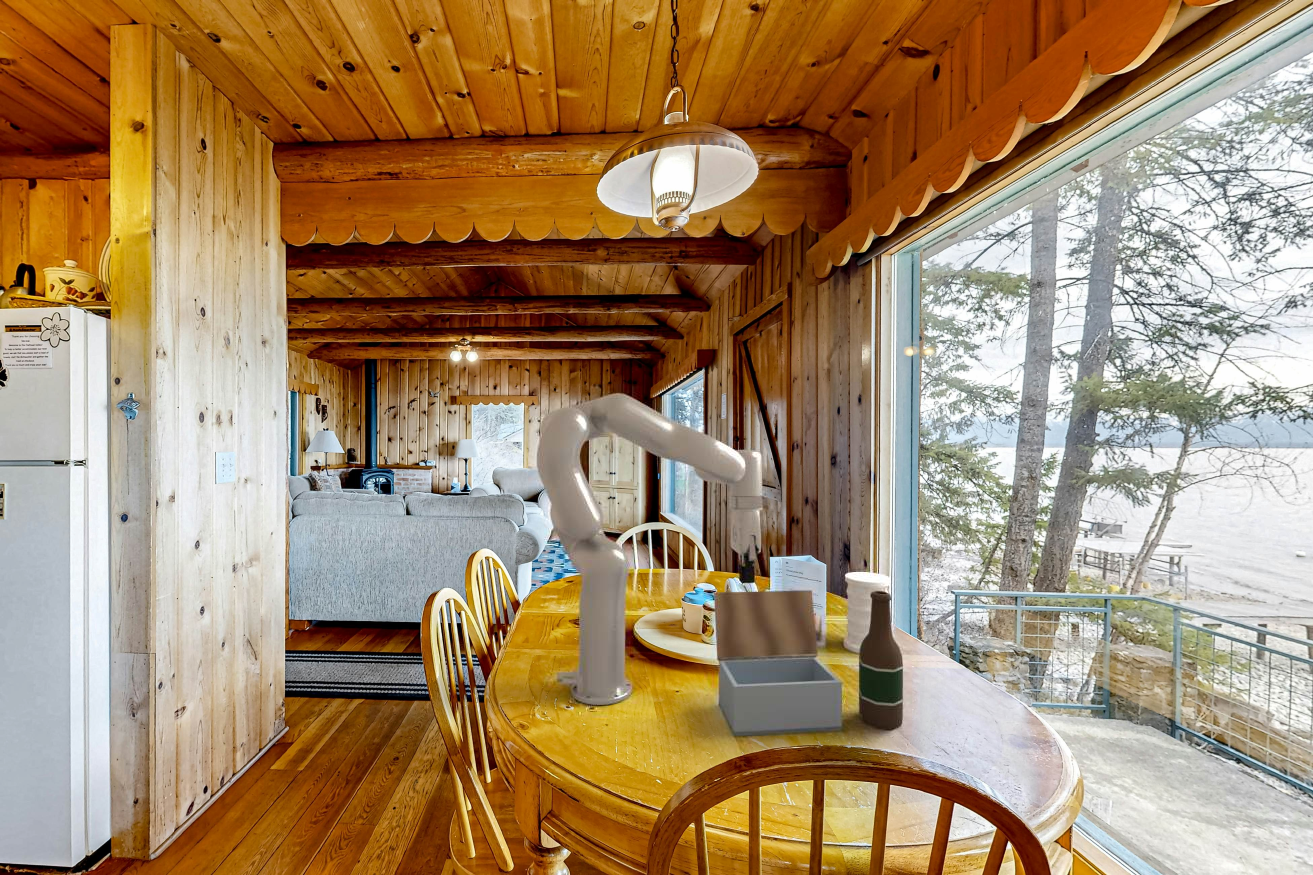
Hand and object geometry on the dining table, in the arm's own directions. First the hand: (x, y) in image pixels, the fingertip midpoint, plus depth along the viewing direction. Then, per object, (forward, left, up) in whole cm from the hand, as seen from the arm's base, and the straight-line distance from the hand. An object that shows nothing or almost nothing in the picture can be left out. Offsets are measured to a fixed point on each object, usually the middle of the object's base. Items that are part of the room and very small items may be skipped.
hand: (747, 582), depth 128 cm
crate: (-1, -23, -20) cm, 30 cm away
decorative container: (+34, +10, -20) cm, 41 cm away
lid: (-1, -16, -5) cm, 17 cm away
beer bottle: (+18, -26, -20) cm, 38 cm away
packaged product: (+23, +21, -21) cm, 37 cm away
